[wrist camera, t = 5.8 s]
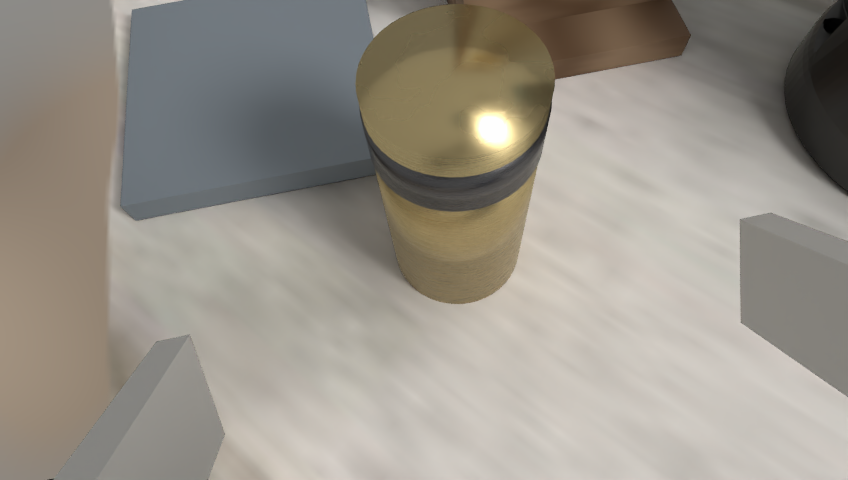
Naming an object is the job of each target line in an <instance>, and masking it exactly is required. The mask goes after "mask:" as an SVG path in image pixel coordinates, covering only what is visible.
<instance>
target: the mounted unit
mask: <svg viewBox="0 0 848 480" xmlns="http://www.w3.org/2000/svg"><path fill="white" fill-rule="evenodd" d="M447 1H448V4H469V5H477V6H483V7H487V8H491V9H495V10H498V11H500V12H503V13H506V14H508V15H510V16H512V17H514V18H516V19H517V20H519V21H520V22H522V23H524V24H525V25H526V26H527V27H529V28H530V29H531V30H532V31H533V32H534V33H535V34H536V35H537V36H538V37H539V38H540V39H541V41H542V42H543V43H544V45H545V46H546V48H547V50H548V52H549V54H550V56H551V59H552V62H553V66H554V73H555V79H559V78H564V77H570V76H575V75H580V74H585V73H591V72H596V71H601V70H606V69H612V68H617V67H622V66H628V65H633V64H638V63H643V62H649V61H654V60H659V59H665V58H670V57H675V56H680V55H682V53H683V51H684V49H685V47H686V45H687V42H688V40H689V38H690V36H691V34H690V33H689V31H688V29H687V27H686V25H685V23H684V22H683V20H682V18H681V16H680V14H679V13H678V11H677V9H676V7H675V5H674V3H673V2H672V0H447Z"/></svg>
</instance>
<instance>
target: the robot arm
mask: <svg viewBox="0 0 848 480" xmlns="http://www.w3.org/2000/svg"><path fill="white" fill-rule="evenodd" d="M785 100H786V106H787V110H788V114H789V116H790V119H791V122H792V124H793V127H794V129H795V131H796V133H797V135H798V137H799V138H800V140H801V142H802V143H803V145H804V146H805V148H806V149H807V151H808V152H809V153H810V155H811V156H812V157H813V159H814V160H815V161H816V162H817V163H818V164H819V166H820V167H821V168H822V169H823V170H824V171H825V172H826V173H827V174H828V175H829V176H830V177H831V178H832V179H834V180H835V181H836V182H837V183H838V184H839V185H840V186H842V187H843V188H844V189H845V190H847V191H848V0H838V1H837V2H836V3H834V4H833V5H832V6H831V7H830V8H829V9H828V10H827V11H826V12H825V13H824V14H823V15H822V16H821V17H820V18H819V19H818V21H817V22H816V23H815V25H814V26H813V27H812V29H811V30H810V32H809V33H808V34H807V36H806V37H805V38H804V40H803V41H802V43H801V44H800V45H799V47H798V48H797V50H796V51H795V53H794V55H793V56H792V58H791V61H790V63H789V66H788V69H787V73H786V78H785ZM740 294H741V323H742V324H744V325H745V326H747V327H748V328H749V329H751V330H752V331H754V332H755V333H757V334H758V335H759V336H761V337H762V338H764V339H765V340H767V341H768V342H770V343H771V344H772V345H774V346H775V347H777V348H778V349H780V350H781V351H782V352H784V353H785V354H787V355H788V356H790V357H791V358H792V359H794V360H795V361H797V362H798V363H800V364H801V365H803V366H804V367H805V368H807V369H808V370H810V371H811V372H813V373H814V374H815V375H817V376H818V377H820V378H821V379H823V380H824V381H826V382H827V383H828V384H830V385H831V386H833V387H834V388H836V389H837V390H838V391H840V392H841V393H843V394H844V395H846V396H847V397H848V241H845V240H842V239H839V238H837V237H834V236H831V235H829V234H826V233H823V232H821V231H818V230H815V229H813V228H810V227H807V226H805V225H802V224H799V223H797V222H794V221H791V220H789V219H786V218H783V217H781V216H778V215H775V214H773V213H767V214H763V215H758V216H753V217H748V218H744V219H740ZM224 435H225V433H224V430H223V427H222V424H221V421H220V419H219V416H218V413H217V410H216V407H215V404H214V402H213V399H212V396H211V393H210V390H209V387H208V384H207V382H206V379H205V376H204V373H203V370H202V367H201V365H200V362H199V359H198V356H197V353H196V350H195V347H194V345H193V342H192V339H191V336H190V335H185V336H181V337H176V338H171V339H166V340H162V341H157V342H156V343H155V344H154V346H153V347H152V348H151V350H150V351H149V352H148V354H147V355H146V356H145V358H144V359H143V360H142V362H141V363H140V364H139V366H138V367H137V368H136V370H135V371H134V372H133V374H132V375H131V376H130V378H129V379H128V380H127V382H126V383H125V384H124V386H123V387H122V388H121V390H120V391H119V392H118V394H117V395H116V397H115V398H114V399H113V401H112V402H111V403H110V405H109V406H108V407H107V409H106V410H105V411H104V413H103V414H102V415H101V417H100V418H99V419H98V421H97V422H96V423H95V425H94V426H93V427H92V429H91V430H90V431H89V433H88V434H87V435H86V437H85V438H84V439H83V441H82V442H81V443H80V445H79V446H78V447H77V449H76V450H75V451H74V453H73V454H72V455H71V457H70V458H69V459H68V461H67V462H66V464H65V465H64V466H63V468H62V469H61V470H60V471H59V473H58V474H57V475H56V477H55V478H54V479H49V480H208V478H209V475H210V472H211V470H212V467H213V464H214V462H215V459H216V456H217V454H218V451H219V449H220V446H221V443H222V441H223V438H224Z"/></svg>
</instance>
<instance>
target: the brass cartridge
mask: <svg viewBox="0 0 848 480" xmlns="http://www.w3.org/2000/svg"><path fill="white" fill-rule="evenodd" d="M355 85H356V94H357V99H358V103H359V110H360V117H361V121H362V125H363V129H364V133H365V137H366V141H367V145H368V149H369V153H370V157H371V161H372V163H373V165H374V168H375V171H376V175H377V180H378V184H379V188H380V192H381V196H382V200H383V204H384V208H385V212H386V216H387V220H388V224H389V228H390V232H391V236H392V240H393V244H394V248H395V252H396V256H397V260H398V264H399V267H400V269H401V272H402V273H403V275H404V277H405V278H406V280H407V281H408V282H409V283H410V284H411V285H412V286H413V287H414V288H415V289H416V290H417V291H419V292H420V293H421V294H423V295H425V296H427V297H429V298H431V299H434V300H436V301H440V302H444V303H451V304H464V303H471V302H475V301H478V300H481V299H483V298H486V297H488V296H489V295H491V294H493V293H494V292H496V291H497V290H498V289H500V288H501V287H502V286H503V285H504V284H505V283H506V281H507V280H508V279H509V277H510V276H511V274H512V272H513V270H514V268H515V265H516V262H517V258H518V253H519V249H520V244H521V239H522V235H523V230H524V226H525V221H526V216H527V212H528V207H529V202H530V198H531V193H532V189H533V184H534V179H535V175H536V170H537V165H538V162H539V160H540V157H541V154H542V149H543V145H544V140H545V136H546V131H547V127H548V122H549V117H550V113H551V106H552V96H553V91H554V86H555V73H554V66H553V62H552V59H551V56H550V54H549V52H548V50H547V48H546V46H545V45H544V43H543V42H542V41H541V39H540V38H539V37H538V36H537V35H536V34H535V33H534V32H533V31H532V30H531V29H530V28H529V27H527V26H526V25H525V24H524V23H522V22H520V21H519V20H517V19H516V18H514V17H512V16H510V15H508V14H506V13H503V12H500V11H498V10H495V9H491V8H487V7H483V6H477V5H469V4H447V5H439V6H433V7H429V8H424V9H421V10H418V11H415V12H412V13H410V14H408V15H406V16H403V17H401V18H399V19H398V20H396V21H394V22H393V23H391V24H390V25H388V26H387V27H386V28H384V29H383V30H382V31H381V32H380V33H379V34H378V35H377V36H376V37H375V38H374V39H373V40H372V41H371V42H370V44H369V45H368V46H367V48H366V50H365V51H364V53H363V55H362V57H361V59H360V62H359V64H358V68H357V72H356V82H355Z"/></svg>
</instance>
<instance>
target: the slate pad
mask: <svg viewBox="0 0 848 480" xmlns="http://www.w3.org/2000/svg"><path fill="white" fill-rule="evenodd" d="M372 40H373V34H372V29H371V24H370V19H369V14H368V10H367V5H366V0H183V1H178V2H172V3H167V4H161V5H156V6H150V7H145V8H139V9H134V10H132V17H131V34H130V52H129V69H128V86H127V103H126V120H125V138H124V155H123V172H122V189H121V207H122V208H123V209H124V210H125V211H126V212H127V213H128V214H129V215H130V216H132V217H133V218H134V219H135V220H142V219H147V218H152V217H157V216H162V215H167V214H173V213H178V212H183V211H188V210H193V209H199V208H204V207H209V206H214V205H219V204H225V203H230V202H235V201H240V200H245V199H250V198H256V197H261V196H266V195H271V194H276V193H282V192H287V191H292V190H297V189H302V188H308V187H313V186H318V185H323V184H328V183H333V182H339V181H344V180H349V179H354V178H359V177H365V176H370V175H375V174H376V171H375V168H374V165H373V163H372V161H371V157H370V153H369V149H368V145H367V141H366V137H365V133H364V129H363V125H362V121H361V117H360V110H359V103H358V99H357V94H356V85H355V82H356V72H357V68H358V64H359V62H360V59H361V57H362V55H363V53H364V51H365V50H366V48H367V46H368V45H369V44H370V42H371V41H372Z"/></svg>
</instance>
